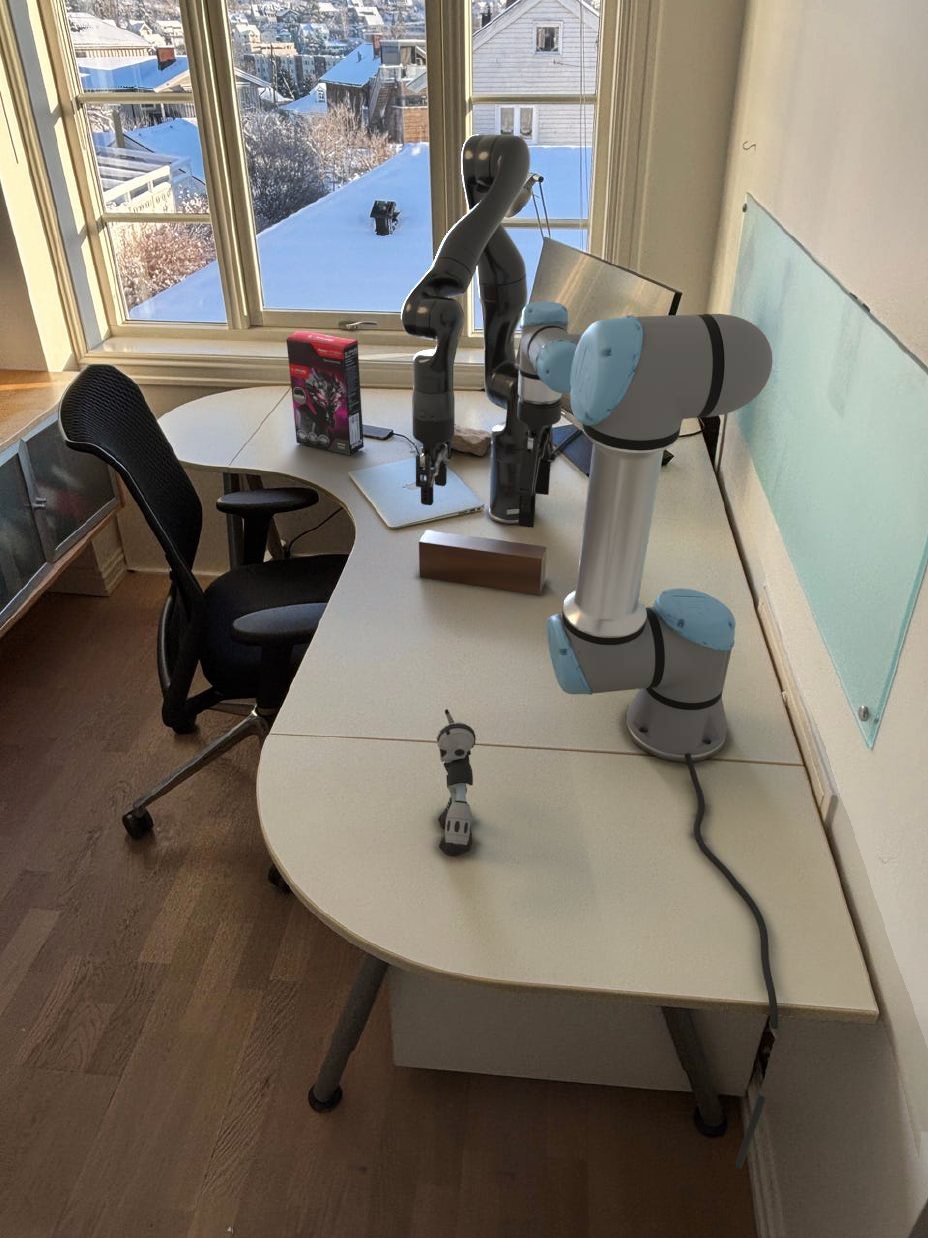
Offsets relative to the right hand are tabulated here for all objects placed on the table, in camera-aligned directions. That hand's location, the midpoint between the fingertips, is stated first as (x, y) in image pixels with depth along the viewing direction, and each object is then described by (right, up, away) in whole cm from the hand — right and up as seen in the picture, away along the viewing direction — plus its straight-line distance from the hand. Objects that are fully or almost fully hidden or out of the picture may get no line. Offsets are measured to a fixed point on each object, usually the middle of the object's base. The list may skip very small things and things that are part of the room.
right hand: (533, 509), depth 169 cm
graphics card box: (-47, +24, +64) cm, 83 cm away
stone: (-16, +24, +65) cm, 72 cm away
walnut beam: (-9, -12, +11) cm, 19 cm away
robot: (-14, -49, -44) cm, 67 cm away
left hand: (-18, +3, +4) cm, 19 cm away
